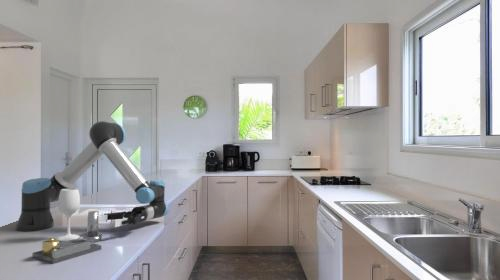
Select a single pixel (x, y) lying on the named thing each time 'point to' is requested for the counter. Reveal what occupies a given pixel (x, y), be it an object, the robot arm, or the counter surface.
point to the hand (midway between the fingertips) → (104, 222)
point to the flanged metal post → (93, 227)
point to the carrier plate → (49, 257)
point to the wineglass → (68, 209)
